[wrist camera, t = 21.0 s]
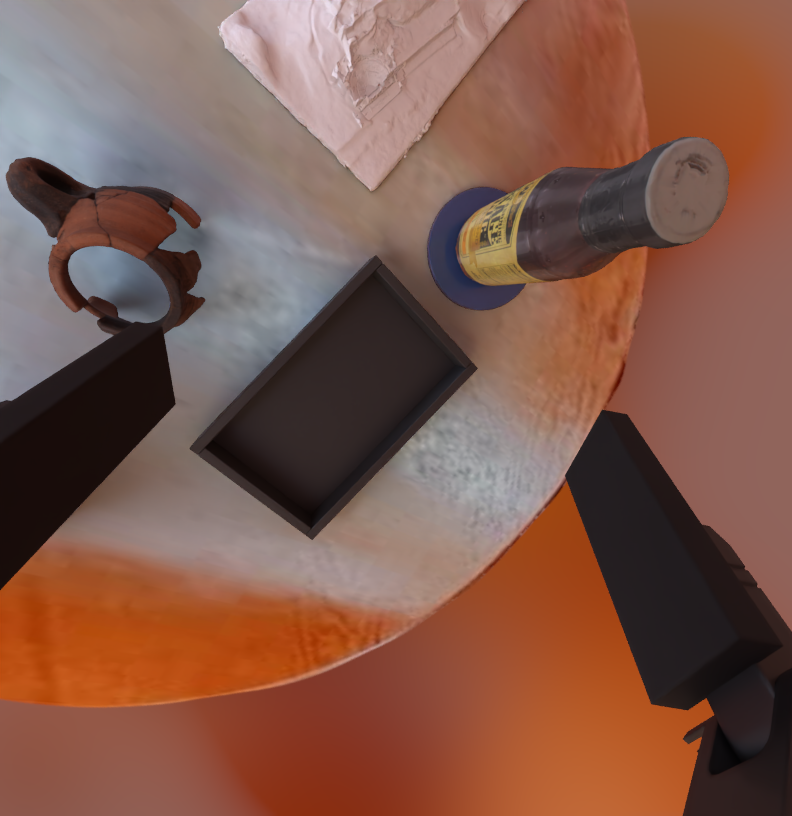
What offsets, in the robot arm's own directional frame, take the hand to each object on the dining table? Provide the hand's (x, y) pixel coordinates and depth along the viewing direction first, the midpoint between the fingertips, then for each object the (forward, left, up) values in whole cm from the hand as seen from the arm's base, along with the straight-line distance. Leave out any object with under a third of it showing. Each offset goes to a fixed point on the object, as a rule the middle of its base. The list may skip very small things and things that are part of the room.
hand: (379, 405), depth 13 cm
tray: (+4, -3, -23) cm, 24 cm away
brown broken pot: (-15, -5, -23) cm, 28 cm away
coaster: (+4, +15, -23) cm, 28 cm away
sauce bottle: (+4, +15, -23) cm, 28 cm away
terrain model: (-14, +21, -23) cm, 34 cm away
